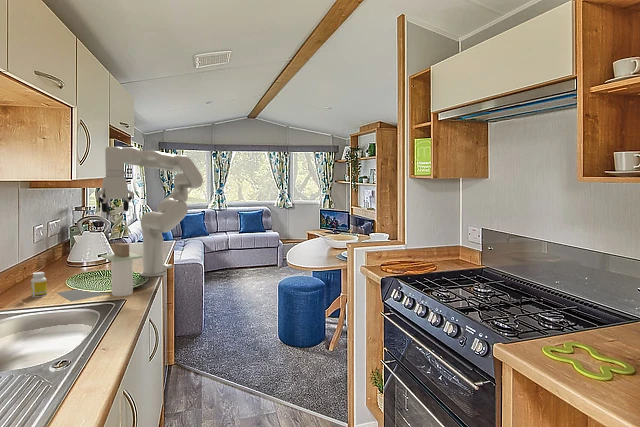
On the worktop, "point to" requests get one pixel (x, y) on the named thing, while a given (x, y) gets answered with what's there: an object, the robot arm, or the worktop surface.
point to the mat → (79, 294)
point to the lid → (121, 253)
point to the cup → (122, 277)
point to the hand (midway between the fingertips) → (115, 211)
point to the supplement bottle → (38, 285)
